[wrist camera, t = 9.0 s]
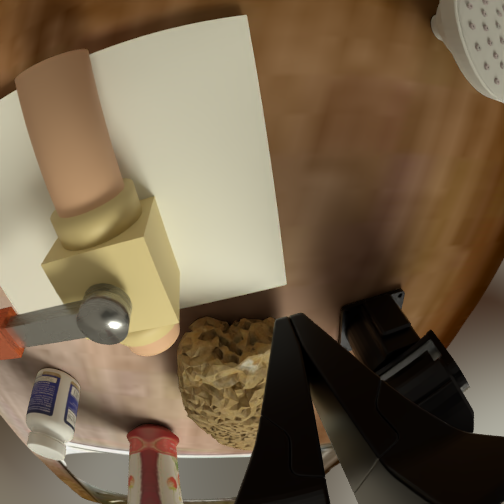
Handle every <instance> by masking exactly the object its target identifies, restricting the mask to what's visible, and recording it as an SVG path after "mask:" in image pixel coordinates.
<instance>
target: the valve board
mask: <svg viewBox="0 0 504 504" xmlns="http://www.w3.org/2000/svg"><path fill="white" fill-rule="evenodd" d="M15 84H16V89H17V90H15V91H14V92H12V93H10V94H8V95H7V96H5V97H3V98H2V99H0V286H1V287H2V289H3V291H4V292H5V294H6V295H7V297H8V298H9V300H10V301H11V303H12V304H13V306H14V307H15V309H16V310H17V312H18V313H19V314H23V313H27V312H32V311H36V310H40V309H45V308H49V307H53V306H58V305H62V304H66V303H71V302H75V301H79V300H83V297H84V294H85V292H86V290H87V289H88V288H89V287H91V286H93V285H95V284H100V283H106V284H111V285H114V286H116V287H118V288H120V289H122V290H123V291H124V292H125V293H126V294H127V295H128V296H129V298H130V300H131V303H132V312H131V318H130V324H129V330H128V335H127V337H126V338H125V339H124V340H123V341H122V342H120V343H121V344H123V345H126V346H128V347H129V348H130V349H131V351H132V352H134V353H135V354H137V355H141V356H152V355H156V354H159V353H161V352H163V351H165V350H167V349H168V348H169V347H170V346H172V345H173V343H174V342H175V341H176V339H177V338H178V335H179V332H180V326H179V312H180V309H182V308H187V307H191V306H196V305H201V304H205V303H210V302H214V301H219V300H223V299H228V298H232V297H237V296H241V295H245V294H250V293H254V292H258V291H262V290H267V289H271V288H275V287H279V286H283V285H287V282H286V274H285V265H284V257H283V249H282V241H281V233H280V225H279V218H278V210H277V203H276V195H275V188H274V181H273V174H272V167H271V160H270V153H269V146H268V140H267V133H266V126H265V120H264V114H263V107H262V101H261V95H260V89H259V83H258V77H257V71H256V65H255V59H254V53H253V48H252V42H251V36H250V31H249V25H248V20H247V15H242V16H234V17H227V18H221V19H215V20H209V21H203V22H198V23H193V24H189V25H184V26H180V27H175V28H171V29H167V30H163V31H159V32H156V33H152V34H148V35H145V36H141V37H138V38H135V39H132V40H129V41H125V42H122V43H119V44H117V45H114V46H111V47H108V48H105V49H103V50H100V51H97V52H95V53H92V54H90V55H89V51H88V50H87V49H78V50H73V51H69V52H65V53H62V54H59V55H56V56H53V57H51V58H48V59H46V60H43V61H41V62H39V63H37V64H35V65H33V66H31V67H30V68H28V69H26V70H25V71H23V72H22V73H20V74H19V75H18V76H17V77H16V78H15ZM86 338H87V337H86ZM88 339H89V338H87V340H88Z"/></svg>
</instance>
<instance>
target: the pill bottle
mask: <svg viewBox="0 0 504 504" xmlns="http://www.w3.org/2000/svg"><path fill="white" fill-rule="evenodd" d="M79 397H80V386H79V384H78V382H77V381H76V380H75V379H74V378H72V377H71V376H70V375H68V374H66V373H65V372H62V371H60V370H57V369H52V368H45V369H42V370H40V371H39V372H38V373H37V376H36V379H35V383H34V387H33V390H32V394H31V398H30V402H29V406H28V410H27V415H26V423H27V426H28V427H29V429H30V430H31V431H32V432H30V433H29V436H28V442H27V446H28V448H29V449H30V450H32V451H33V452H35V453H37V454H39V455H41V456H43V457H46V458H49V459H53V460H64V459H65V454H66V445H65V444H64V443H66V442H69V441H71V440H72V438H73V436H74V431H75V423H76V416H77V410H78V403H79Z"/></svg>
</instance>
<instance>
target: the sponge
mask: <svg viewBox="0 0 504 504" xmlns="http://www.w3.org/2000/svg"><path fill="white" fill-rule="evenodd" d="M274 322H275V319H274V318H272V317H269V318H266V319H264V320H263V321H262V320H258V319H248V320H247V319H246V318H243V319H240V322H237V321H236V320H235V321H234V322H233V324H232V325H231V326H229V324H228V323H227V322H224V321H220V320H217V319H214V318H211V317H208V316H206V317H203V318H200V319H198V320H196V321H195V322H194V323H193V324H191V325H190V326H189V328H190V329H191V330H192V332H186V333H185V334H184V336H183V337H182V339H181V340H180V343H179V346H178V349H177V366H178V371H177V375H178V377H179V390H180V392H181V396H182V400H183V405H184V407H185V410H186V411H187V413H188V417H189V418H191V419H192V420H193V421H194V422H195V423H196V424H197V425H198V426H199V427H200V428H201V429H203V430H204V431H205V432H206V433H207V434H211V436H212V437H213V438H214V439H216V440H217V441H218V442H219V443H220V444H223V445H226V446H229V447H233V448H236V449H243V450H253V448H254V445H255V440H256V436H257V431H258V425H259V419H260V416H261V408H262V402H263V396H264V389H265V383H266V377H267V370H268V363H269V357H270V350H271V343H272V336H273V329H274Z"/></svg>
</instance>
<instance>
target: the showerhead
mask: <svg viewBox="0 0 504 504" xmlns="http://www.w3.org/2000/svg"><path fill="white" fill-rule="evenodd" d="M431 28H432V31H433V33H434V35H435V36H436V37H437V38H438V39H439V40H441V41H443V42H444V44H445V45H446V47H447V48H448V49H449V51H450V52H451V53H452V55H453V57H454V59H455V61H456V63H457V65H458V67H459V68H460V70H461V72H462V73H463V75H464V76H465V78H466V79H467V80H468V81H469V83H470V84H471V85H472V86H473V87H474V88H475V89H476V90H477V91H478V92H480V93H481V94H483V95H484V96H486V97H489V98H491V99H494V100H497V101H500V102H502V103H504V0H440V3H439V5H438V8H437V12H436V15H434V16H433V17H432V19H431Z"/></svg>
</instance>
